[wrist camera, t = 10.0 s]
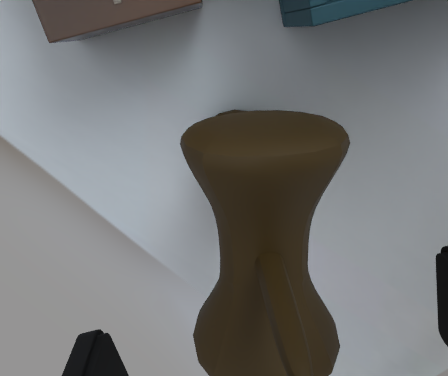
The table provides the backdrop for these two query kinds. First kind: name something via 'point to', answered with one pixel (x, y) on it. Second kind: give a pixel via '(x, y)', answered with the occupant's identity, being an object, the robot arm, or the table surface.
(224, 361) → the kendama
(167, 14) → the block
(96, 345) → the robot arm
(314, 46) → the table surface
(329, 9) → the teal open box
